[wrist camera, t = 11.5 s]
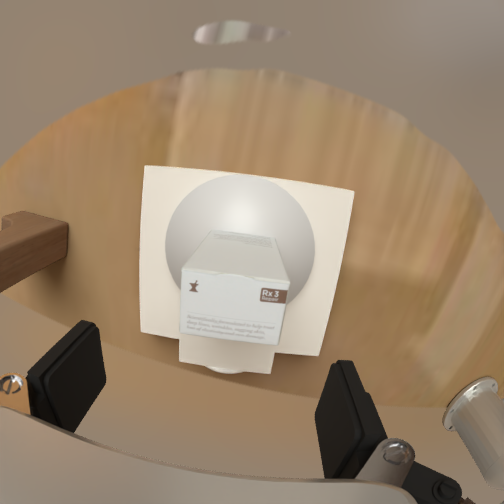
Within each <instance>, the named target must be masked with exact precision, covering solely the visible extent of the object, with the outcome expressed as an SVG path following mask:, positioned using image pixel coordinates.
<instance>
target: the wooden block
mask: <svg viewBox="0 0 504 504" xmlns="http://www.w3.org/2000/svg"><path fill="white" fill-rule="evenodd" d="M67 234H68V223H66V222H63V221H59V220H55V219H51V218H47V217H44V216H40V215H36V214H32V213H28V212H25V211H20V212H16V213H13V214H9V215H5V216H3V217H2V230H1V231H0V293H1V292H2V291H4V290H6V289H7V288H9V287H11V286H13V285H14V284H16V283H18V282H19V281H21V280H23V279H25V278H27V277H28V276H30V275H32V274H34V273H35V272H37V271H39V270H41V269H43V268H45V267H46V266H48V265H50V264H52V263H54V262H56V261H58V260H60V259H62V258H63V257H65V256H66V254H67Z"/></svg>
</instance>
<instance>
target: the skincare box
mask: <svg viewBox="0 0 504 504" xmlns="http://www.w3.org/2000/svg"><path fill="white" fill-rule="evenodd" d="M290 286H291V283H290V280H289V277H288V275H287V272H286V269H285V266H284V263H283V260H282V257H281V254H280V251H279V248H278V245H277V242H276V239H275V238H273V237H265V236H258V235H251V234H244V233H236V232H229V231H221V230H211V231H210V232H209V233H208V235H207V236H206V237H205V238H204V240H203V241H202V242H201V244H200V245H199V246H198V247H197V249H196V250H195V251H194V253H193V254H192V255H191V257H190V258H189V259H188V261H187V262H186V263H185V265H184V266H183V267H182V268H181V295H180V323H179V332H180V333H181V334H187V335H194V336H201V337H208V338H216V339H224V340H232V341H240V342H248V343H257V344H266V345H275V346H278V345H279V342H280V337H281V332H282V327H283V321H284V316H285V311H286V306H287V301H288V296H289V291H290Z"/></svg>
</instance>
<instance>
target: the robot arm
mask: <svg viewBox="0 0 504 504" xmlns="http://www.w3.org/2000/svg"><path fill="white" fill-rule="evenodd" d="M27 373H28V375H27V377H26V378H25V377H24V376H22V375H21V374H18V373H6V374H4V375H2V376H0V504H475V503H474V502H473V501H472V500H470V499H469V498H468V497H467V498H466V499H463V498H462V497H461V496H462V490H461V487H460V485H459V484H458V483H457V482H456V481H455V480H453V479H452V478H449V477H447V476H445V475H443V474H440V473H438V472H436V471H434V470H432V469H430V468H428V467H426V466H423V465H421V464H419V463H417V462H415V461H414V459H415V451H414V449H413V447H412V446H411V445H410V444H409V443H407V442H406V441H404V440H401V439H398V438H389V439H388V437H387V435H386V432H385V430H384V427H383V425H382V422H381V420H380V417H379V415H378V412H377V410H376V408H375V405H374V403H373V400H372V398H371V396H370V394H369V393H367V392H365V390H364V387H363V385H362V383H361V380H360V378H359V375H358V373H357V371H356V368H355V366H354V363H353V362H352V361H350V360H337V362H336V363H333V364H332V365H331V367H330V371H329V374H328V377H327V380H326V383H325V386H324V389H323V391H322V394H321V397H320V400H319V403H318V406H317V408H316V411H315V423H316V429H317V434H318V441H319V447H320V452H321V459H322V465H323V471H324V477H325V479H299V478H274V477H258V476H247V475H238V474H229V473H222V472H215V471H208V470H202V469H196V468H191V467H186V466H181V465H176V464H171V463H167V462H163V461H158V460H154V459H150V458H147V457H143V456H139V455H135V454H132V453H129V452H125V451H122V450H119V449H115V448H113V447H109V446H107V445H103V444H101V443H98V442H95V441H92V440H89V439H87V438H84V437H82V436H79V435H76V434H74V432H75V430H76V428H77V427H78V426H79V424H80V422H81V421H82V419H83V418H84V416H85V415H86V413H87V411H88V410H89V408H90V407H91V405H92V404H93V402H94V401H95V399H96V398H97V396H98V395H99V393H100V392H101V390H102V389H103V387H104V386H105V383H106V374H105V368H104V362H103V356H102V349H101V341H100V334H99V329H98V328H97V327H96V325H95V324H94V323H92V322H88V321H85V320H81V321H80V322H79V323H78V324H76V325H75V326H74V327H73V328H72V329H71V330H70V331H69V332H68V333H67V334H66V335H65V336H64V337H63V338H62V339H61V340H59V341H58V342H57V343H56V344H55V345H54V346H53V347H52V348H51V349H50V350H49V351H48V352H47V353H46V354H45V355H44V356H43V357H42V358H41V359H40V360H39V361H38V362H37V363H36V364H35V365H34V366H33V367H32V368H31V369H30V370H29V371H28V372H27ZM497 390H498V384H497V382H496V381H495V380H494V378H492V377H483V378H481V379H478V380H476V381H474V382H473V383H471V384H470V385H468V386H467V387H466V388H464V389H463V390H462V391H461V392H460V393H459V394H458V395H457V396H456V397H455V398H454V399H453V400H452V402H451V403H450V404H449V406H448V407H447V409H446V411H445V413H444V416H443V425H444V427H445V429H446V430H448V431H457V432H458V433H459V435H460V437H461V439H462V440H463V442H464V444H465V445H466V447H467V449H468V451H469V452H470V454H471V456H472V458H473V459H474V461H475V463H476V465H477V466H478V468H479V469H480V472H481V474H482V475H483V477H484V479H485V481H486V483H487V484H488V485H489V486H490V487H492V488H494V489H497V490H504V398H503V399H501V398H500V397H499V396H498V395H497ZM500 504H504V501H503V502H502V503H500Z"/></svg>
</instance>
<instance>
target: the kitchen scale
mask: <svg viewBox="0 0 504 504" xmlns="http://www.w3.org/2000/svg"><path fill="white" fill-rule="evenodd" d="M353 198H354V191H351V190H347V189H342V188H336V187H331V186H325V185H319V184H313V183H307V182H300V181H294V180H287V179H280V178H273V177H265V176H258V175H250V174H241V173H233V172H223V171H214V170H203V169H192V168H180V167H167V166H145V170H144V181H143V194H142V209H141V229H140V322H141V332H144V333H149V334H154V335H159V336H165V337H170V338H175V339H179V361H180V362H186V363H191V364H197V365H203V366H205V367H207V368H209V369H211V370H213V371H215V372H219V373H225V374H236V373H241V372H244V371H246V372H255V373H265V374H270V373H271V368H272V364H273V359H274V354H275V352H276V353H286V354H298V355H311V356H319V352H320V349H321V345H322V341H323V338H324V334H325V330H326V326H327V322H328V318H329V314H330V310H331V306H332V302H333V298H334V294H335V289H336V285H337V281H338V276H339V272H340V267H341V262H342V257H343V253H344V248H345V242H346V237H347V232H348V227H349V221H350V215H351V210H352V204H353ZM211 230H221V231H229V232H236V233H244V234H251V235H258V236H265V237H273V238H275V239H276V242H277V245H278V248H279V251H280V254H281V257H282V260H283V263H284V266H285V269H286V272H287V275H288V277H289V280H290V283H291V286H290V291H289V296H288V301H287V306H286V311H285V316H284V321H283V327H282V332H281V337H280V342H279V345H278V346H275V345H266V344H257V343H248V342H240V341H232V340H224V339H216V338H208V337H201V336H194V335H187V334H181V333H180V332H179V323H180V295H181V268H182V267H183V266H184V265H185V263H186V262H187V261H188V259H189V258H190V257H191V255H192V254H193V253H194V251H195V250H196V249H197V247H198V246H199V245H200V244H201V242H202V241H203V240H204V238H205V237H206V236H207V235H208V233H209V232H210V231H211Z"/></svg>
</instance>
